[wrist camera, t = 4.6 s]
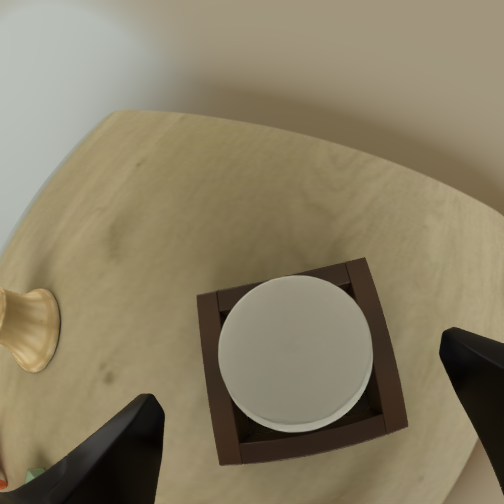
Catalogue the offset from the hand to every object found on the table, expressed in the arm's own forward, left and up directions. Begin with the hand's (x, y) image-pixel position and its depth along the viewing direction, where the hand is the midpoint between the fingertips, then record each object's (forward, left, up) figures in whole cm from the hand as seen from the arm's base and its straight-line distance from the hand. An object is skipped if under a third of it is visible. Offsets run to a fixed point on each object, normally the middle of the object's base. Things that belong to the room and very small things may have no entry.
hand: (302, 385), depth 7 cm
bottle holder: (+1, -1, -9) cm, 9 cm away
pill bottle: (+1, -1, -9) cm, 9 cm away
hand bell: (+19, +14, -9) cm, 25 cm away
